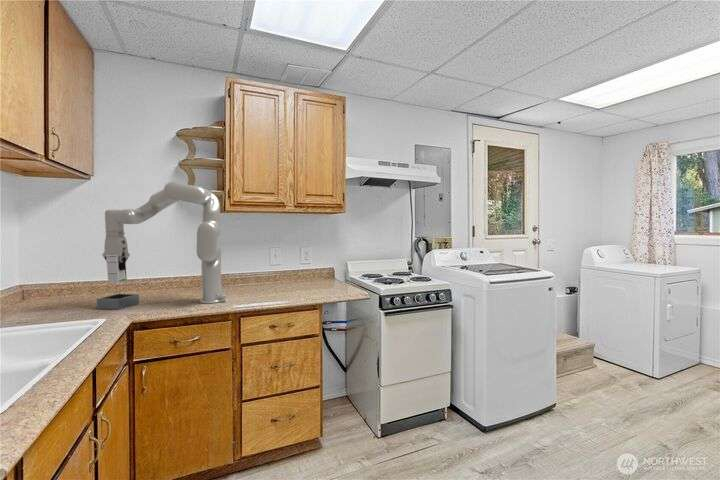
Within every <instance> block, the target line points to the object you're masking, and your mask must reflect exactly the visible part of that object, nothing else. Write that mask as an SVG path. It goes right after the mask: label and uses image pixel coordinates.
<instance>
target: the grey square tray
mask: <svg viewBox="0 0 720 480" xmlns="http://www.w3.org/2000/svg"><path fill="white" fill-rule="evenodd" d="M139 304H140V296H139V294H137V293H136V294H135V293H115V294H112V295H111V294H110V295H107V296H104V297H98V298H96V309H97V310H111V311H112V310H114V311H115V310H117V311H119V310H122V309H123V310H124V309H125V308H129V307H133V306H136V305H139Z"/></svg>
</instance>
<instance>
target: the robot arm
mask: <svg viewBox="0 0 720 480" xmlns="http://www.w3.org/2000/svg"><path fill="white" fill-rule="evenodd" d="M179 201H182V202H187V203H191V204H196V205H200V206H202V207H203V208H202V209H203V210H202V222H201V223H200V224H199V225H198V226H197V227H198V228H197V232H196V255H197V258H198V259H200V260H201V292H202V298H200V299H199V303H200V304H216V303H221V302H224V301H226V299H228V297H229V294H228V293H227V294H226V293H224V291H223V290H222V250H221V247H220V245H219V244H218V237H219V236H220V234H221V204H220V203H221V202H220V200H219V198H218V197H217V195H215V194H214V193H213V192H211V191H210V190H208V189H206V188H204V187H200V186H196V185H190V184H186V183H181V182H177V181H169V182H168V183H165V185H164V186H163V189H161V190H160V191H157V192H156V193H154V194H152V195H150V197H149V200H147V202H145V203H144V204H142V205H141V206H139V207H137V208H135V209H133V208H128V209H127V208H126V209H106V210H105V212H104V222H105V224H104V225H105V226H104V227H105V238H104V239H105V240H104V251H103V253H102V254H101V256H102V257H103V259H104V260H105V262H106V263H107V259H106V255H117V256H118V257H119V261H120V263H119V270H125V269H126V270H127V264H126V265H125V262H126V263H127V260H129V258H130V256H131V254H130V253H129V248H128V242H127V238H126V236H125V234H126V232H125V230H124V228H125V226H124V225H139V224H142V223H144V222H146V221H148V220H149V219H152V218H153V217H154V216H156V215H157V214H159V213H161V211H163V210H164V209H165V210H166V209H167V208H168V207H170V206H172V205H174V204H176V203H177V202H179ZM122 258H123V259H122Z"/></svg>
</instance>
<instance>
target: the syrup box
mask: <svg viewBox="0 0 720 480" xmlns="http://www.w3.org/2000/svg"><path fill="white" fill-rule="evenodd" d="M106 259H107V262H106V272H107V283H108V284H122V283H126V282H128V279H127V268H126V269H125V270H119V263H120V261H119V257H118V256H117V255H106ZM122 259H123V258H122ZM126 263H127V261H126V262H125V265H126V266H127V264H126Z"/></svg>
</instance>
